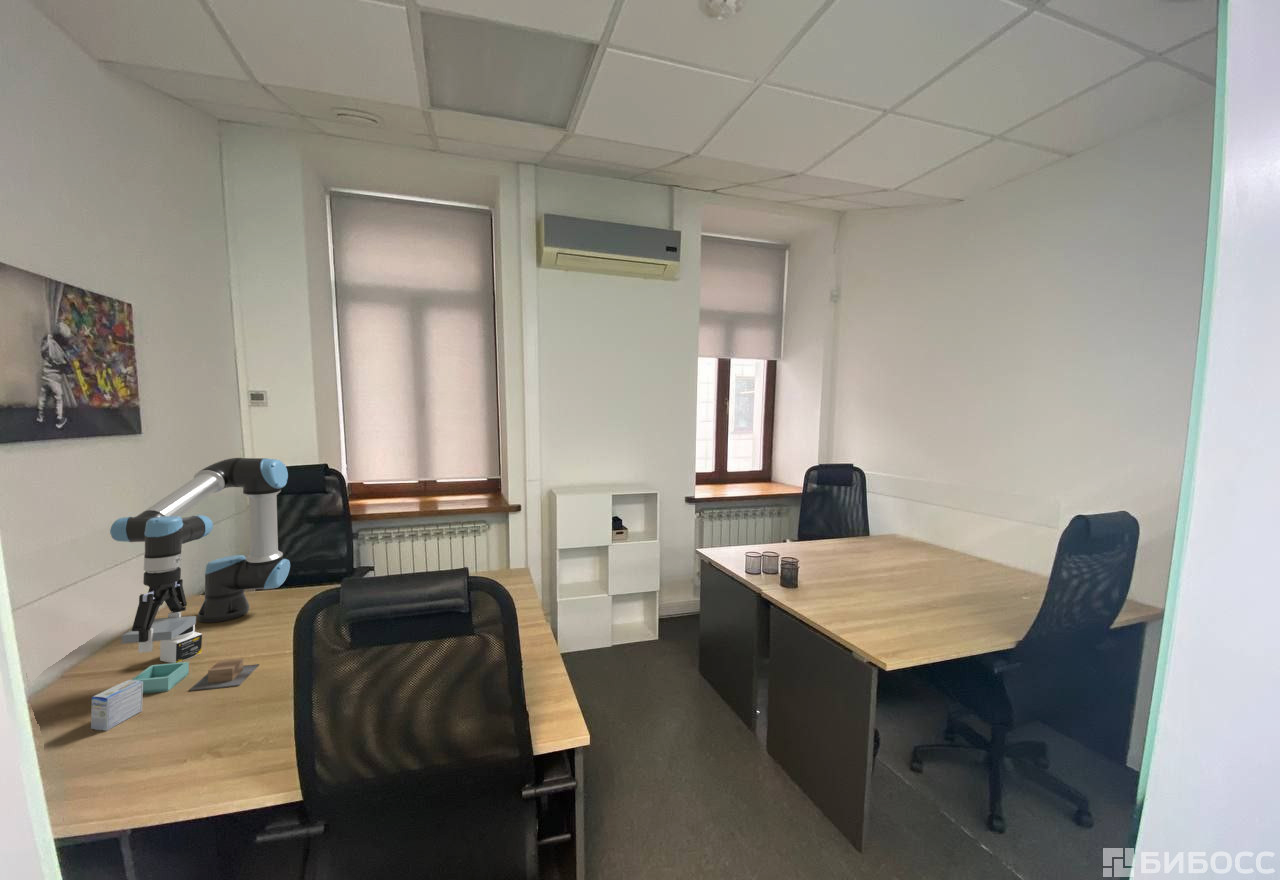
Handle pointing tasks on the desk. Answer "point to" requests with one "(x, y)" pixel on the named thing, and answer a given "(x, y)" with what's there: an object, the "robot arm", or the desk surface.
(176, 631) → the cover plate
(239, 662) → the stand
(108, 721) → the medicine box
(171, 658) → the medicine bottle
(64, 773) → the desk surface
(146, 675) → the dish
